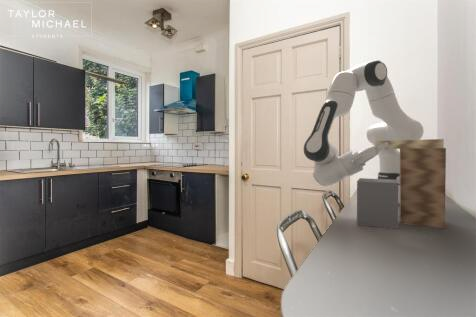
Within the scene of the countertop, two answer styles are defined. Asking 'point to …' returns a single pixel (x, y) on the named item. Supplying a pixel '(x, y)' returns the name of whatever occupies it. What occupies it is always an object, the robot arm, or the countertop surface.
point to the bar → (413, 144)
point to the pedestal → (422, 186)
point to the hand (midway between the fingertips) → (388, 143)
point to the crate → (377, 202)
